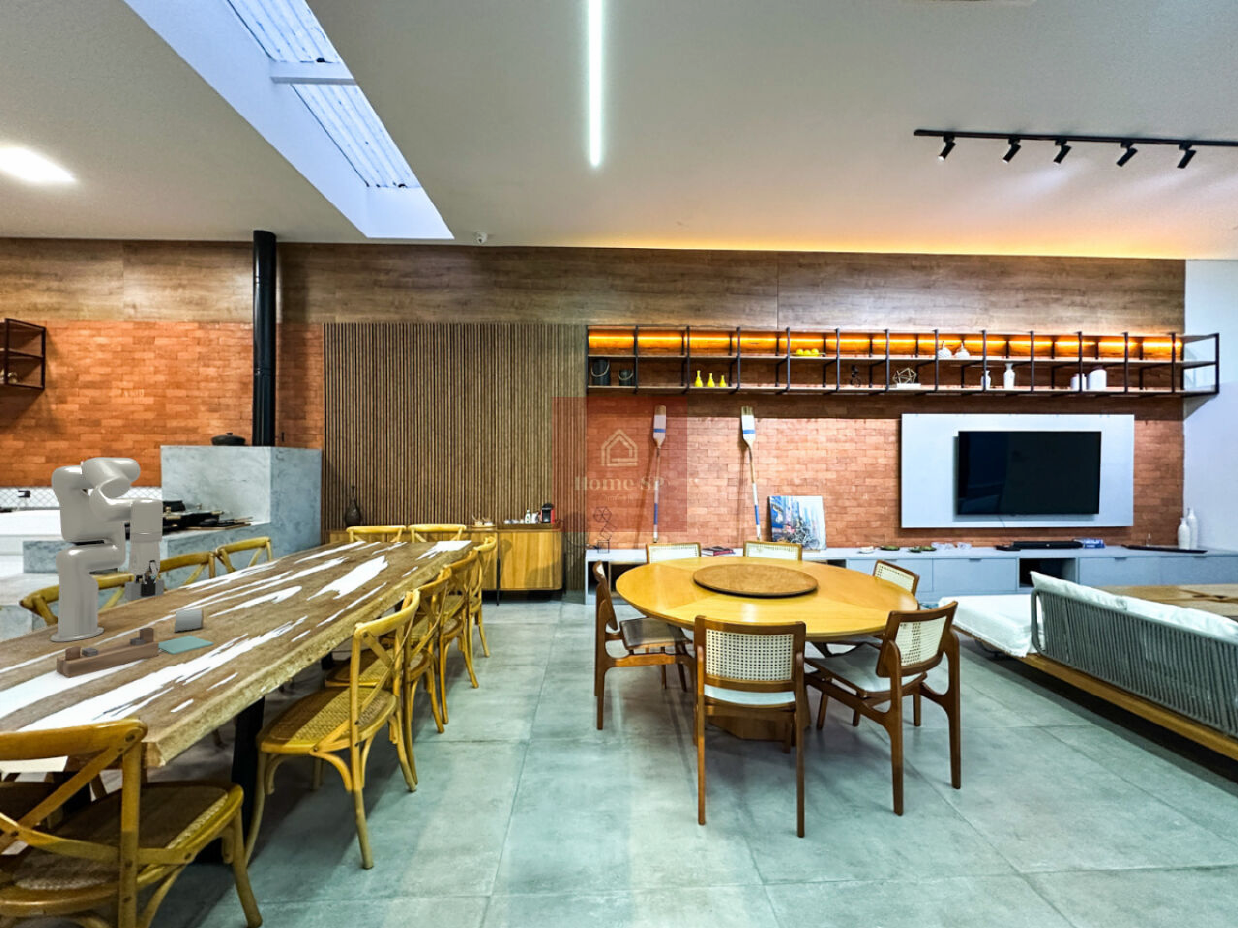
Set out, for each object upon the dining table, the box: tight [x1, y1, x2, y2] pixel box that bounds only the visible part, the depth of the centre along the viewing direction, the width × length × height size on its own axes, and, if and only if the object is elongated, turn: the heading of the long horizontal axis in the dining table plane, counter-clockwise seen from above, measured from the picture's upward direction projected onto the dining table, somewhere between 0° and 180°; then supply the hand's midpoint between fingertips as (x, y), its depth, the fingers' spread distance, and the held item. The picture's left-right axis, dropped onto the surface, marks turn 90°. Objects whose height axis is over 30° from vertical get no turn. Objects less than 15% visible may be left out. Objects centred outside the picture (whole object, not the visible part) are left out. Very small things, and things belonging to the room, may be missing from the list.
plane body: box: [56, 627, 159, 679], centre depth 154 cm, size 9×20×8 cm, turn 153°
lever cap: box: [124, 576, 165, 601], centre depth 161 cm, size 5×8×6 cm, turn 151°
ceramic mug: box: [174, 608, 205, 633], centre depth 188 cm, size 11×8×8 cm
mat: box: [158, 635, 214, 656], centre depth 170 cm, size 16×11×1 cm
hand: (144, 594), depth 161 cm, fingers closed on lever cap, 5 cm apart
